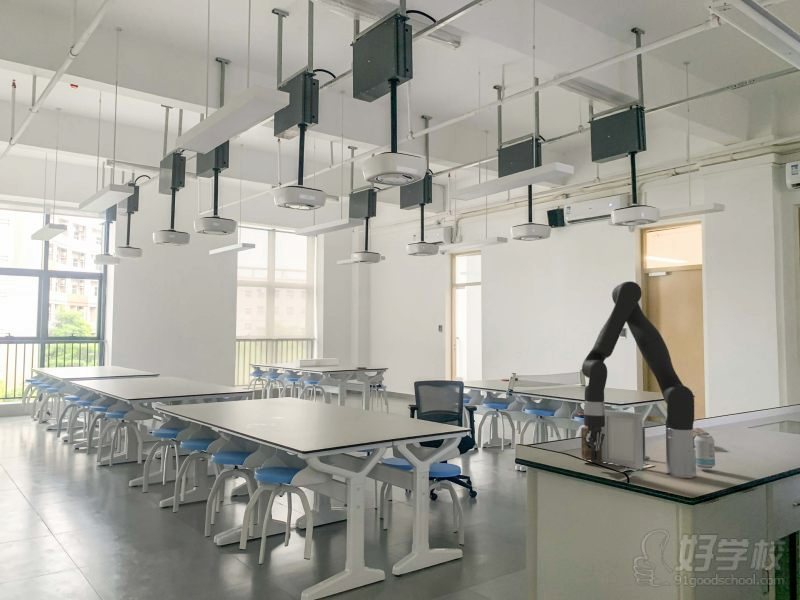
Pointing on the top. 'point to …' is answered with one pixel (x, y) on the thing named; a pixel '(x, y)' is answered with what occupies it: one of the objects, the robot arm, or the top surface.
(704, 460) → the beverage can
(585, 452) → the shelf back
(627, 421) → the picture frame
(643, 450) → the bookend
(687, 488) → the top surface
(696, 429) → the pumice stone
